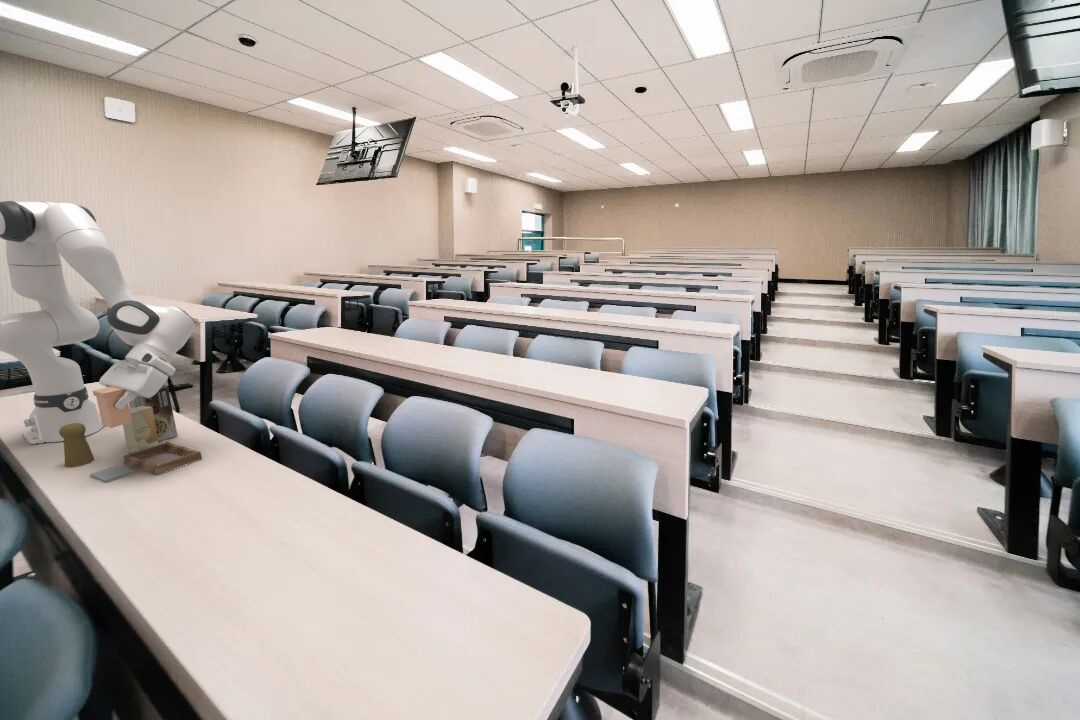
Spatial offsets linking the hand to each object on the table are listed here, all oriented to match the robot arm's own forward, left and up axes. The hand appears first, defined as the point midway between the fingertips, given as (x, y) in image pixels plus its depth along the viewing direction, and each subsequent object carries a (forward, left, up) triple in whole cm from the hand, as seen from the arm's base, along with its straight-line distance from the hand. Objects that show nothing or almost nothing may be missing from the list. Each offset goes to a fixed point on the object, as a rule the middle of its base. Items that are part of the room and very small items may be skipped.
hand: (110, 406), depth 126 cm
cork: (-18, -2, -18) cm, 25 cm away
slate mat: (-1, -2, -18) cm, 18 cm away
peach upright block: (0, +1, -5) cm, 5 cm away
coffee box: (-18, +17, -18) cm, 31 cm away
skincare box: (-12, +11, -18) cm, 24 cm away
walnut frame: (+2, +8, -18) cm, 20 cm away
